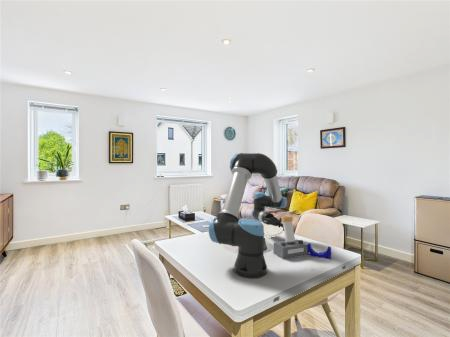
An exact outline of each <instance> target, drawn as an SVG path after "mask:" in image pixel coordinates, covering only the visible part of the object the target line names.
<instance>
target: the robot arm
mask: <svg viewBox="0 0 450 337" xmlns="http://www.w3.org/2000/svg"><path fill="white" fill-rule="evenodd" d="M229 170H230V173H231V175H232V177H231V180H230V183H229V186H228V190H227V193H226V197H225V199H224V203H223V205H222V208H221V210H220V211H219V212H218V213H217V215H216V217H213V218H211V219H210V220H209V225H208V235H209V238H210V241H211V242H213V243H216V244H218V245H219V244H220V245H228V246H232V247H233V246H234V247H238V249H237V250H238V252H237V257H236V259H235V262H234V265H233V266H234V268H233V270H234V273H236V274H237V275H238V276H240V277H244V278H249V279H257V278H261V277H264V276H266V275H267V273H268V265H267V262H266V259H265V255H264V250H265V249H264V244H265V243H264V242H265V239H264V238H265V228H264V224H265V225H268V226H274V227H278V228H283V229H284V226H283V222H282V220H281V218H282V217H279V218H278V217H276V216H274V214H273V213H271V212H268V211H266V210H265V209H266V208H277V209H285V208H286V207H287V203H288V200H287V197H285V196H283V194H282V191H281V187H280V183H279V180H278V177H277V176H278V169H277V166H276V164H275V162H274V161H273V160H272V159H271V158H270V157H269V156H267V155H265V154H264V153H259V152H257V153H255V152H254V153H253V152H252V153H247V152H246V153H244V152H240V153H235V154H234V155H232V156H231V158H230V162H229ZM254 174H255V175H257V174H258V175H260V176H261V177H262V179H264V183H265V185H266V188H267V191H268V194H269V195H266V193H265V192H264V191H263V192H262V191H261V192H260V191H256V192H254V195H253V209H252V210H251V213H250V214H251V217H252V218H250V217H249V218H248V217H247V218H246V217H242V218H239V212H240V209H241V206H242V201H243V199H244V194H245V190H246V187H247V183H248V180H250V179H251V178H252V175H254Z"/></svg>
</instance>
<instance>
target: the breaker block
mask: <svg viewBox="0 0 450 337" xmlns="http://www.w3.org/2000/svg"><path fill="white" fill-rule="evenodd" d="M272 253H273V254H274V255H276V256H277V257H278V258H280V259H282V260H285V259H291V258H297V257H298V258H299V257H306V256H309V255H308V244H307V243H306V242H305V241H304V240H303V239H295V243H288V244H287V243H286V240H283V241H282V240H281V241H274V242H273V252H272Z"/></svg>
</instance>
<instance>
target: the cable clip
mask: <svg viewBox="0 0 450 337" xmlns="http://www.w3.org/2000/svg"><path fill="white" fill-rule="evenodd" d="M306 244H308V255H307V256H311V257H315V258H321V259H327V260H331V258H332V246H327V248H326V250H325V251H322V252H321V251H319V252H317V251H316V250H315V249H313V247H312V243H311V242H307V243H306Z"/></svg>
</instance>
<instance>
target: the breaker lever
mask: <svg viewBox="0 0 450 337" xmlns="http://www.w3.org/2000/svg"><path fill="white" fill-rule="evenodd" d="M280 218H281V220H282V222H283V226H284V228H283V232H284V238H285V241H286V243H287V244H288V243H295V240H296V239H295V237H296V236H295V233H294V232H295V231H294V224H293V220H294V219H293V217H292V216H285V217H280Z"/></svg>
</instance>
